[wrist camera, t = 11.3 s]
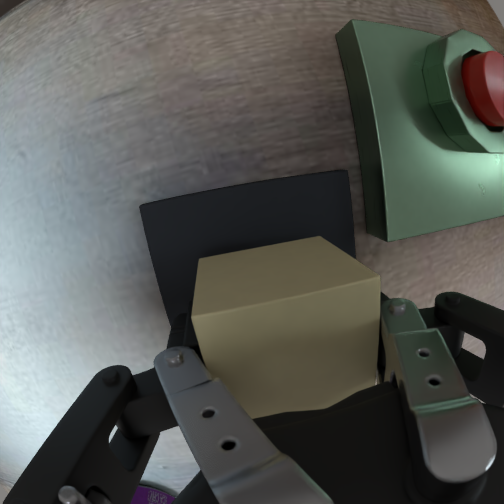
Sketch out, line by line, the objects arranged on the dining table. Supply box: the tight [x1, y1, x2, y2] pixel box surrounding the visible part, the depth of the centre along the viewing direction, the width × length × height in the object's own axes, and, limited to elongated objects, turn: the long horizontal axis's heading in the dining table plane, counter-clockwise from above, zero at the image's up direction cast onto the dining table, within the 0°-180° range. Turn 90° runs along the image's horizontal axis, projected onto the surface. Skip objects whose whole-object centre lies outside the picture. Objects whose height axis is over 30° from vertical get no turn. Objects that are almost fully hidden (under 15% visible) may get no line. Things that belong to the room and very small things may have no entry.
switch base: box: [336, 19, 504, 242], centre depth 12 cm, size 14×11×4 cm
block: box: [191, 236, 381, 419], centre depth 10 cm, size 5×5×5 cm
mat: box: [139, 170, 356, 326], centre depth 15 cm, size 10×10×1 cm
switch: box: [461, 51, 504, 127], centre depth 10 cm, size 4×4×2 cm
